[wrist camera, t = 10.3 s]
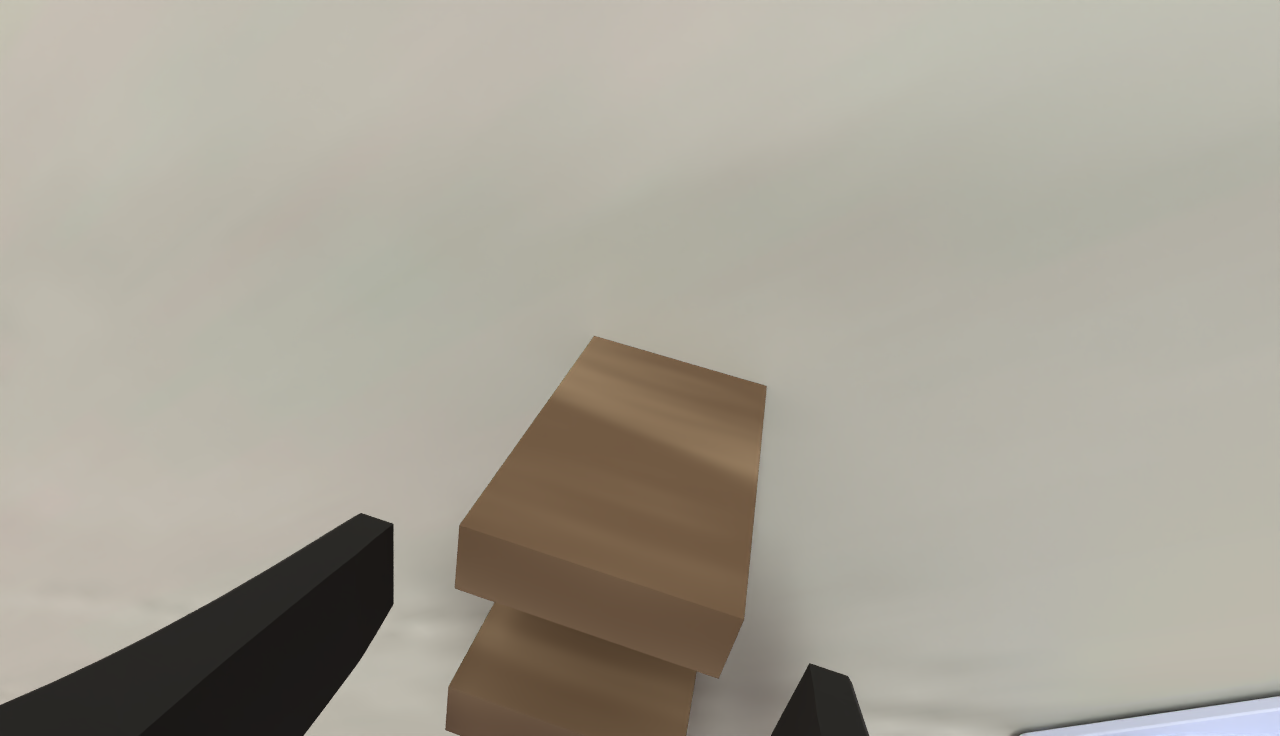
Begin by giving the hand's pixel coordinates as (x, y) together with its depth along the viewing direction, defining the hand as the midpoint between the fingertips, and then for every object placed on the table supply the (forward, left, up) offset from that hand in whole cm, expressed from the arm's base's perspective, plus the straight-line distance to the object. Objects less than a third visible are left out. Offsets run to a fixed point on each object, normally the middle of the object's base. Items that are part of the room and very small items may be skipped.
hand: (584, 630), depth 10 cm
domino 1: (0, 0, -9) cm, 9 cm away
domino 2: (+3, +3, -8) cm, 10 cm away
